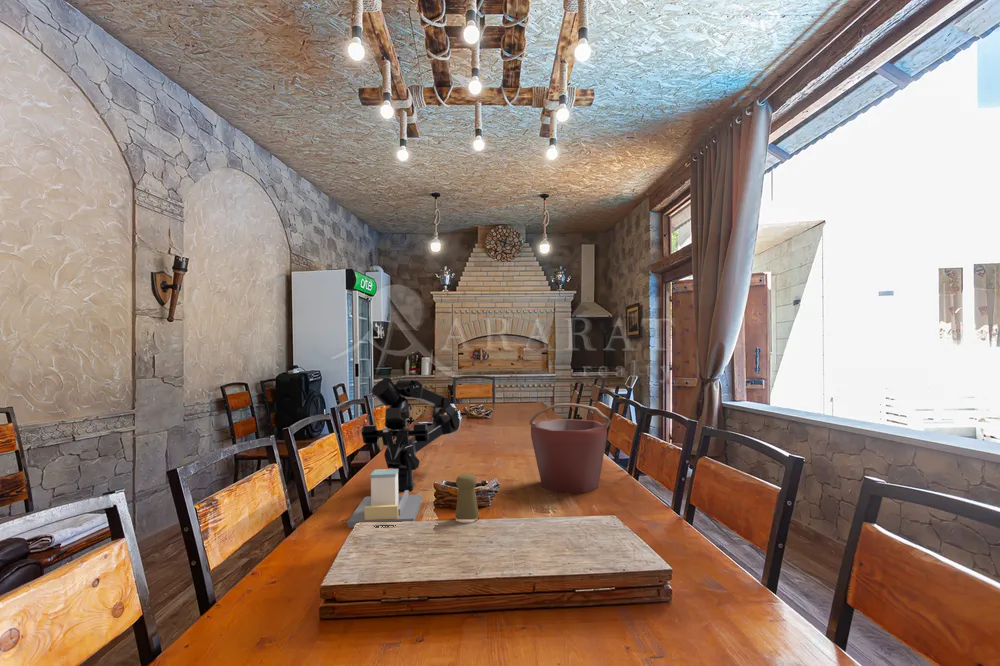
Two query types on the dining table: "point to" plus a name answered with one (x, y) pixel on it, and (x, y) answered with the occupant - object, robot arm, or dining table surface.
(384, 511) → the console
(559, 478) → the bucket
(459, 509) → the olive green pawn
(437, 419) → the robot arm
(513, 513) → the dining table surface
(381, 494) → the white teal-topped box
